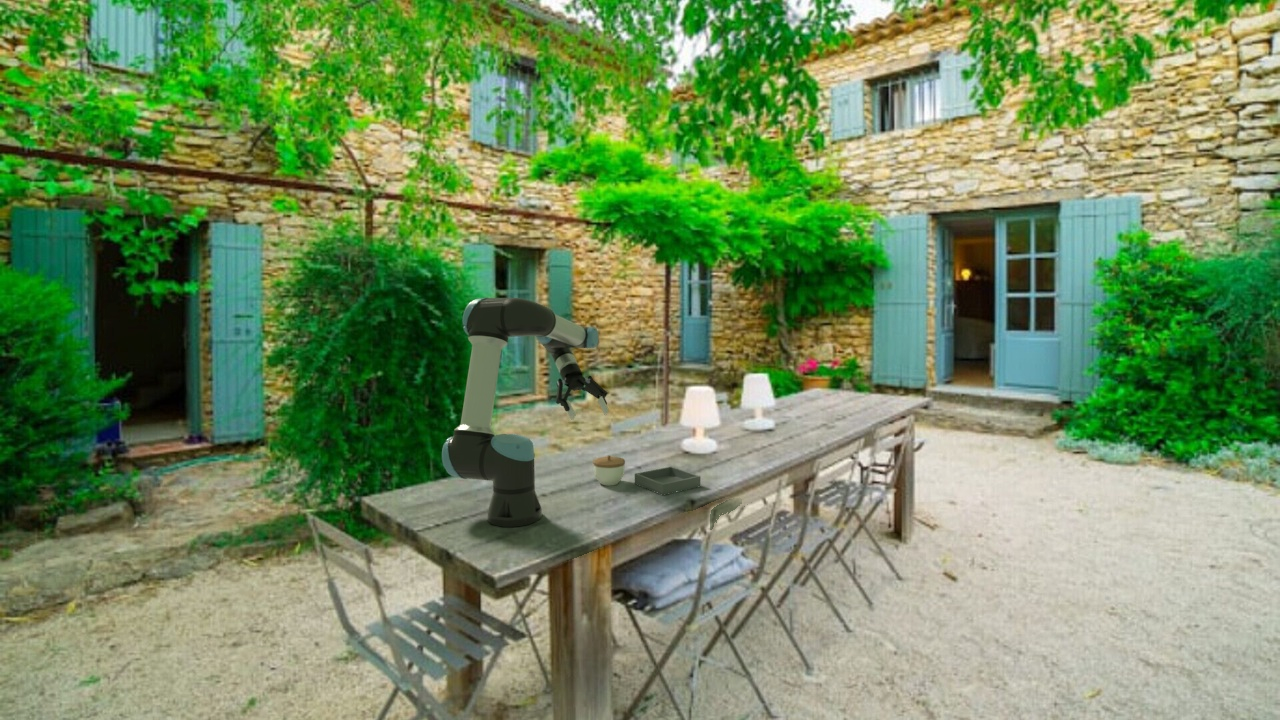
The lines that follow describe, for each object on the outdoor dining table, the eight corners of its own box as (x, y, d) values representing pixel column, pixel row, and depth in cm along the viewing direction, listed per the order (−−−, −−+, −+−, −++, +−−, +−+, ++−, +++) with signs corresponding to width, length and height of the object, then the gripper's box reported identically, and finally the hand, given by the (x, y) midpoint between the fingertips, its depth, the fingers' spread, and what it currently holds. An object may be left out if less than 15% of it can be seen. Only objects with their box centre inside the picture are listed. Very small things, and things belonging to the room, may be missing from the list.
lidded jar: (626, 478, 216) (626, 452, 215) (623, 488, 205) (622, 460, 204) (596, 478, 217) (595, 451, 216) (590, 487, 206) (590, 459, 205)
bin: (662, 495, 197) (662, 484, 197) (634, 483, 210) (634, 473, 209) (700, 486, 206) (700, 476, 206) (671, 476, 219) (671, 466, 218)
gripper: (594, 372, 240) (616, 417, 229) (535, 378, 225) (555, 426, 215) (601, 359, 235) (624, 404, 224) (541, 365, 221) (562, 413, 210)
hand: (590, 415), depth 219 cm, fingers open, 13 cm apart
